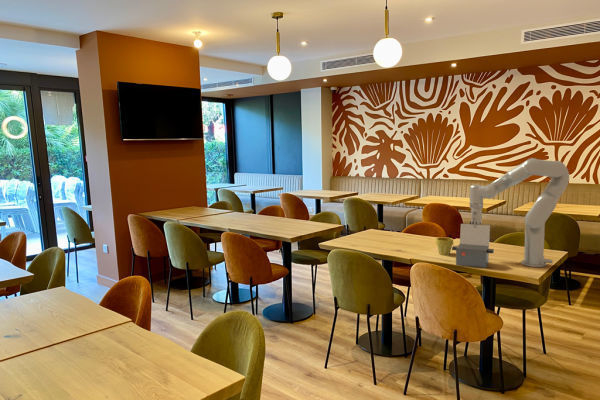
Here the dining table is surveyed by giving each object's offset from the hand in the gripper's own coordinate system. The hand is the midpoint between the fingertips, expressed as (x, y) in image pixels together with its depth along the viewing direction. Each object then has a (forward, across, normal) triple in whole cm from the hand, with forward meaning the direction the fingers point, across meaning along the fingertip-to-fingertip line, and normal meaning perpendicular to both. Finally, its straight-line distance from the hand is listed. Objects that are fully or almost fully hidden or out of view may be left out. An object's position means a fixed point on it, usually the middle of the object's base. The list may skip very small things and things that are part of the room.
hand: (475, 235), depth 260 cm
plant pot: (+14, +5, +19) cm, 24 cm away
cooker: (+14, -13, 0) cm, 19 cm away
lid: (-3, -5, 0) cm, 6 cm away
